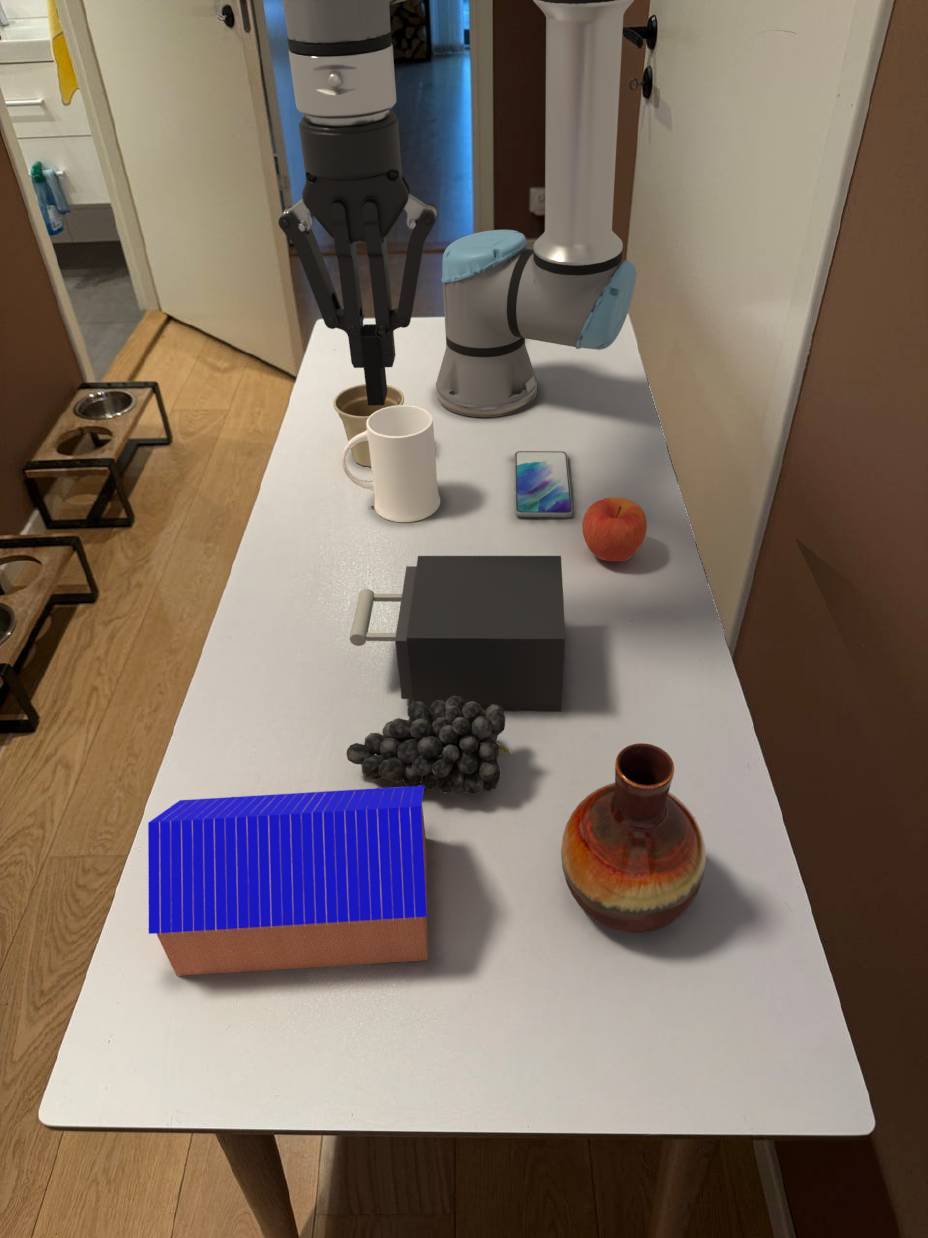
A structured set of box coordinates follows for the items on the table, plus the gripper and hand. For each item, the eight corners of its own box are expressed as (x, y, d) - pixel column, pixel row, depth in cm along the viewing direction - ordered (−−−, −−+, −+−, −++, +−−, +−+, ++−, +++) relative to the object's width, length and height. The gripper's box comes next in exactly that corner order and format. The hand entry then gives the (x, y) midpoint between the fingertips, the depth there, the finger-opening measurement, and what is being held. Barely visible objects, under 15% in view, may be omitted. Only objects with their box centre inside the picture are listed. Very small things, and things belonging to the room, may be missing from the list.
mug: (346, 525, 116) (333, 440, 108) (351, 487, 122) (340, 405, 115) (439, 521, 116) (434, 436, 108) (440, 484, 122) (435, 402, 114)
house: (198, 848, 80) (164, 759, 72) (429, 834, 80) (420, 744, 72) (171, 980, 71) (129, 894, 63) (432, 964, 71) (422, 876, 63)
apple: (629, 533, 112) (635, 477, 107) (653, 568, 107) (660, 511, 102) (572, 543, 111) (575, 487, 106) (593, 579, 106) (597, 522, 101)
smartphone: (567, 450, 126) (573, 513, 114) (566, 456, 126) (572, 519, 115) (514, 450, 126) (514, 512, 115) (513, 456, 127) (514, 518, 115)
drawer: (353, 698, 92) (343, 640, 86) (367, 623, 100) (359, 566, 95) (538, 700, 90) (539, 641, 85) (537, 623, 99) (538, 566, 94)
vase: (602, 973, 70) (617, 852, 60) (536, 860, 78) (539, 736, 68) (725, 918, 73) (758, 794, 63) (649, 814, 81) (668, 689, 71)
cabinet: (413, 710, 91) (406, 637, 85) (423, 625, 101) (417, 555, 95) (561, 711, 90) (565, 638, 84) (558, 626, 100) (561, 555, 94)
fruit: (331, 722, 78) (509, 723, 77) (350, 679, 86) (512, 679, 84) (340, 809, 81) (511, 811, 80) (357, 760, 89) (514, 761, 88)
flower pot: (406, 473, 125) (400, 416, 119) (336, 474, 125) (328, 417, 119) (411, 438, 132) (406, 382, 126) (345, 439, 132) (338, 383, 126)
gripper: (251, 127, 67) (300, 418, 83) (429, 122, 66) (445, 417, 82) (272, 103, 73) (314, 380, 88) (437, 98, 72) (450, 378, 87)
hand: (377, 398), depth 85 cm, fingers closed
